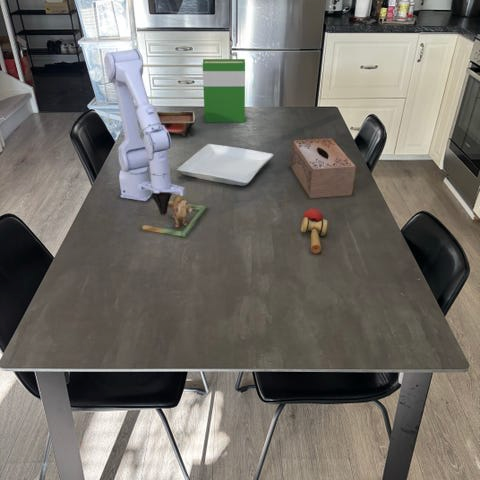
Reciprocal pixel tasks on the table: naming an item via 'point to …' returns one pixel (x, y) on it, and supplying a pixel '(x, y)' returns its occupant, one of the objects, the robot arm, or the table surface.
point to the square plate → (225, 164)
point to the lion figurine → (181, 210)
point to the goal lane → (188, 227)
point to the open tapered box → (177, 121)
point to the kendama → (314, 227)
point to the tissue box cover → (322, 168)
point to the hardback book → (224, 90)
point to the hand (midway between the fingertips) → (163, 213)
